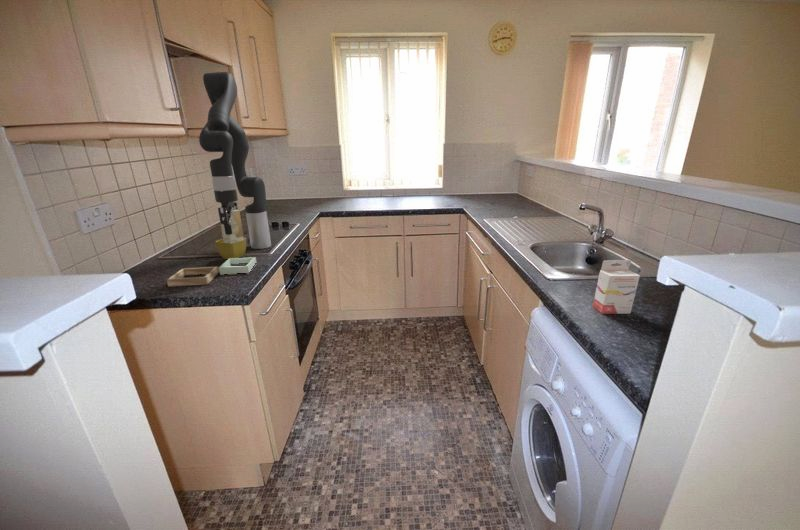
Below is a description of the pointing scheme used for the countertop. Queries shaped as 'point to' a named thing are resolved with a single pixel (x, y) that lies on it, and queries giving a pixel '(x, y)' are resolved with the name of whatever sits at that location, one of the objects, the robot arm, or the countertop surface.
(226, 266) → the parts tray
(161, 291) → the countertop surface
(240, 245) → the flower pot
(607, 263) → the ink cartridge box
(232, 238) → the skincare box
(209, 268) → the frame
